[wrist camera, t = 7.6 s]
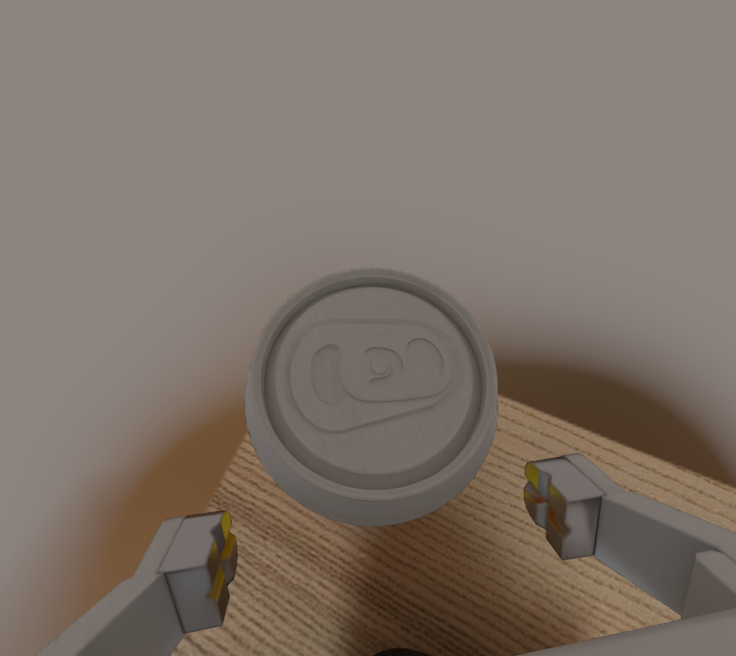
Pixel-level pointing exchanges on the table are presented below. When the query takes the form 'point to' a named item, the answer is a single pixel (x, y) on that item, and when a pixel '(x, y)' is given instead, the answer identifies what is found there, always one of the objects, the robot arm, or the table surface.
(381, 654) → the light bulb
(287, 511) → the table surface
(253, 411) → the beer can
